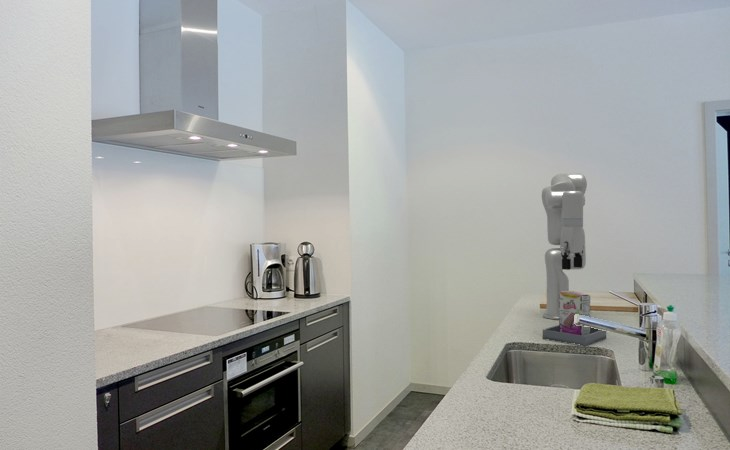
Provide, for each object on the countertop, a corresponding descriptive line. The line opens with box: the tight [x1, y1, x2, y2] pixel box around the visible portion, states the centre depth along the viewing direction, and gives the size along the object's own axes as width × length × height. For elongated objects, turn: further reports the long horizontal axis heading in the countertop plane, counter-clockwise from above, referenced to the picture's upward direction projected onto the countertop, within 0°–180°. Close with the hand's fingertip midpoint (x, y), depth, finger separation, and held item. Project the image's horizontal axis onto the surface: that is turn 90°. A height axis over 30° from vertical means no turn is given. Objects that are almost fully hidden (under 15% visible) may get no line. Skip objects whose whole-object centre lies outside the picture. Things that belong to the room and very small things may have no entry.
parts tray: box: [542, 324, 607, 347], centre depth 208 cm, size 18×16×4 cm
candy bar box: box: [558, 290, 591, 336], centre depth 208 cm, size 11×5×16 cm, turn 26°
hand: (572, 268), depth 210 cm, fingers open, 9 cm apart
